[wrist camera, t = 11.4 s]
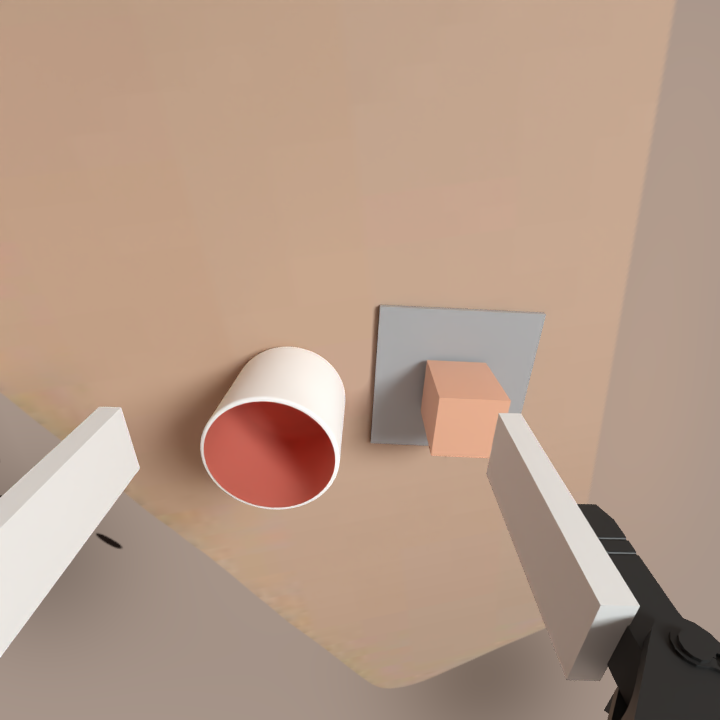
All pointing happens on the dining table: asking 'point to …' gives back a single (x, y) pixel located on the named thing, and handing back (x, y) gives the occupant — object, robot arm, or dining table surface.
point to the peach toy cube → (461, 408)
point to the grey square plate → (445, 359)
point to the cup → (277, 430)
